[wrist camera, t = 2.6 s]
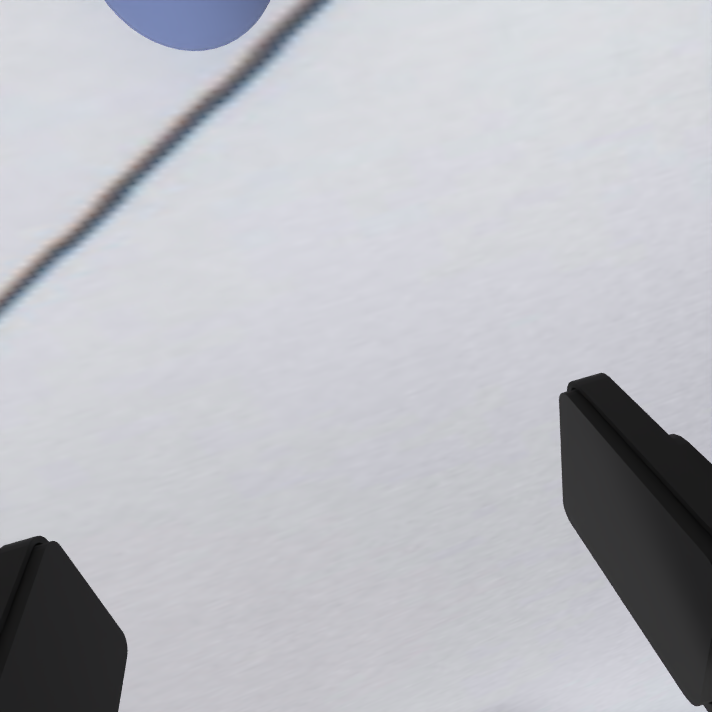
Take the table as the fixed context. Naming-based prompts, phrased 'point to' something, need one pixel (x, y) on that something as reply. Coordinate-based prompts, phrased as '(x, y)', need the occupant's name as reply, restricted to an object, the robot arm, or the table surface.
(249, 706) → the table surface
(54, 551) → the robot arm
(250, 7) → the slate blue ball
